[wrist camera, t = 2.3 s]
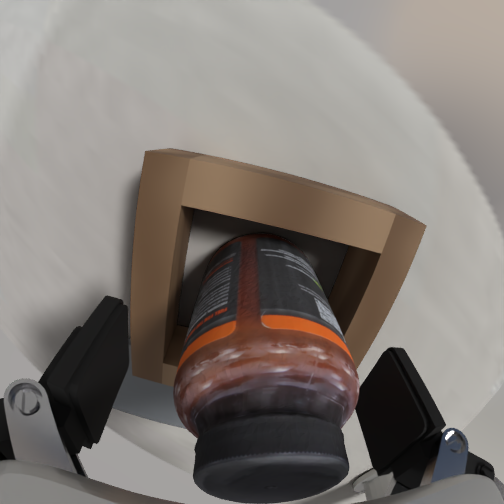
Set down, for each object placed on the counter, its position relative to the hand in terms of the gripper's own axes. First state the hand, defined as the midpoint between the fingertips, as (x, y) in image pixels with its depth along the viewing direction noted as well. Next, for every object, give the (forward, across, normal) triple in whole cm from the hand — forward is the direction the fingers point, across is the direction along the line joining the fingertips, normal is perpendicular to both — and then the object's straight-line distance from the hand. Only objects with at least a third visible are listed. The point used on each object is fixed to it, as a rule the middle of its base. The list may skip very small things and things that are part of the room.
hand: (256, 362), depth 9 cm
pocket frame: (+7, 0, 0) cm, 7 cm away
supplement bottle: (+7, 0, 0) cm, 7 cm away
